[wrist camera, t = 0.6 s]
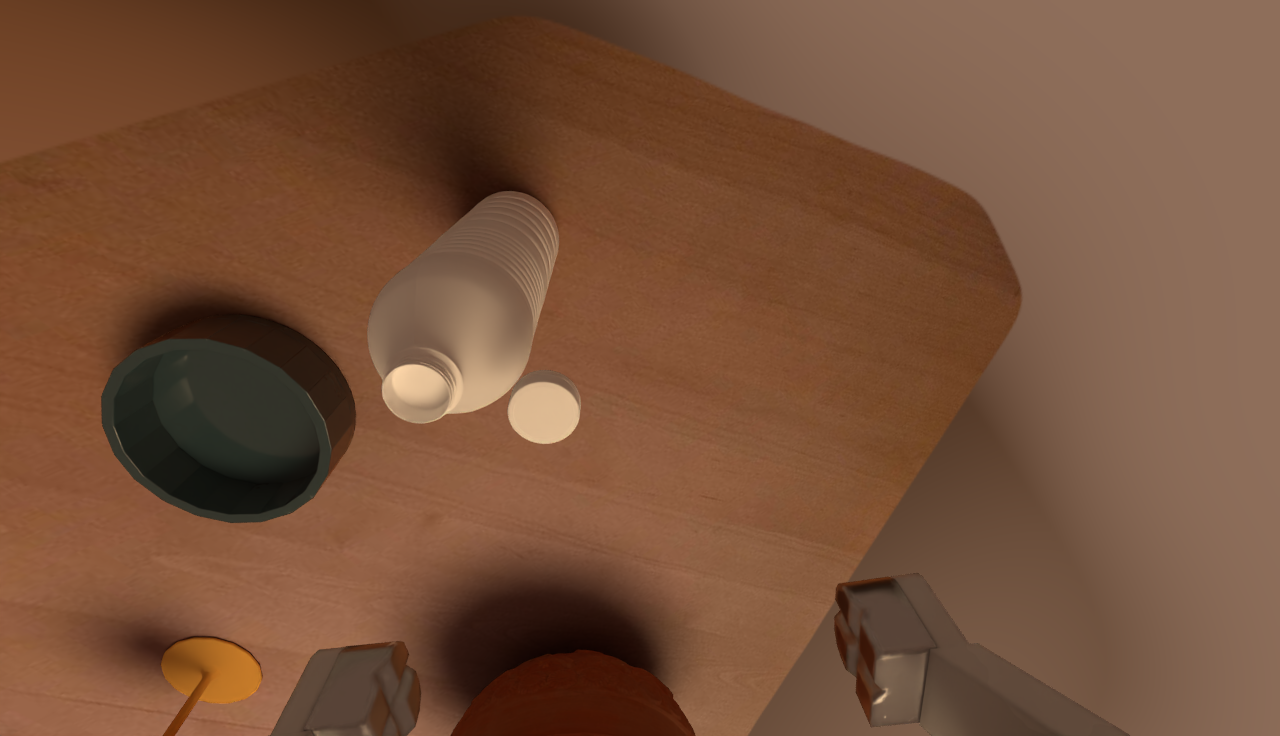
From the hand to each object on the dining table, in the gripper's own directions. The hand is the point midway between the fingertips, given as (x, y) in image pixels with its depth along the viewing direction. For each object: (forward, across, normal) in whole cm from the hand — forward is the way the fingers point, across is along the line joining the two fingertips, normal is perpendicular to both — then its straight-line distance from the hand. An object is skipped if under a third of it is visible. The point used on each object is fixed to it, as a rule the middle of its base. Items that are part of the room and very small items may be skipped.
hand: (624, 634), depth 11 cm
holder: (+35, +29, +10) cm, 46 cm away
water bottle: (+35, +5, 0) cm, 35 cm away
